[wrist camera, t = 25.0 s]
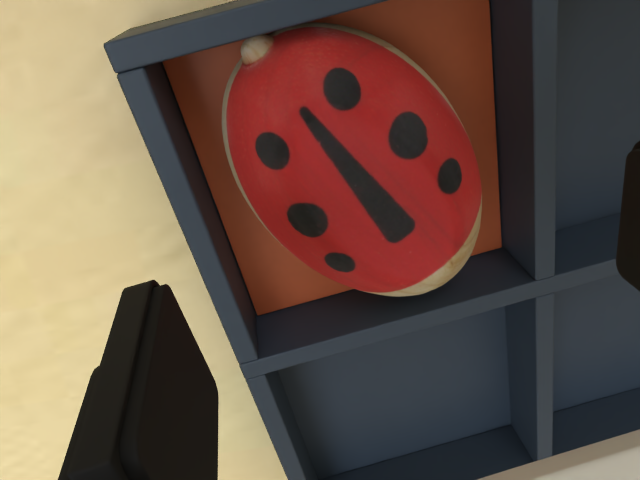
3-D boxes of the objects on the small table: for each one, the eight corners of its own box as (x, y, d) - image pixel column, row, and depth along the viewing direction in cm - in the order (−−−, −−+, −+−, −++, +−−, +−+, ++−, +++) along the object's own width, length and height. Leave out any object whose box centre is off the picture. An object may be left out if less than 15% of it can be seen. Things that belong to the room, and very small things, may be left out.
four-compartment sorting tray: (127, 29, 14) (101, 43, 11) (837, -161, 14) (975, -191, 12) (306, 480, 25) (315, 543, 22) (714, 363, 25) (771, 411, 22)
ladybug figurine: (367, 306, 19) (393, 372, 16) (158, 124, 15) (138, 166, 12) (511, 189, 18) (570, 237, 14) (325, -52, 13) (353, -58, 10)
